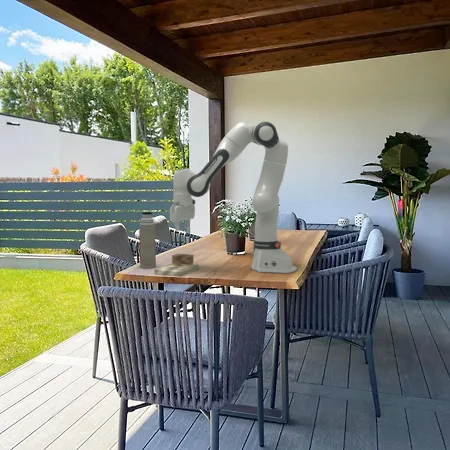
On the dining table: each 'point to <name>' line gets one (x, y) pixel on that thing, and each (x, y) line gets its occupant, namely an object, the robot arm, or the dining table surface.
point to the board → (176, 270)
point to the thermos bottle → (147, 241)
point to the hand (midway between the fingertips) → (182, 229)
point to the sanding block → (182, 260)
